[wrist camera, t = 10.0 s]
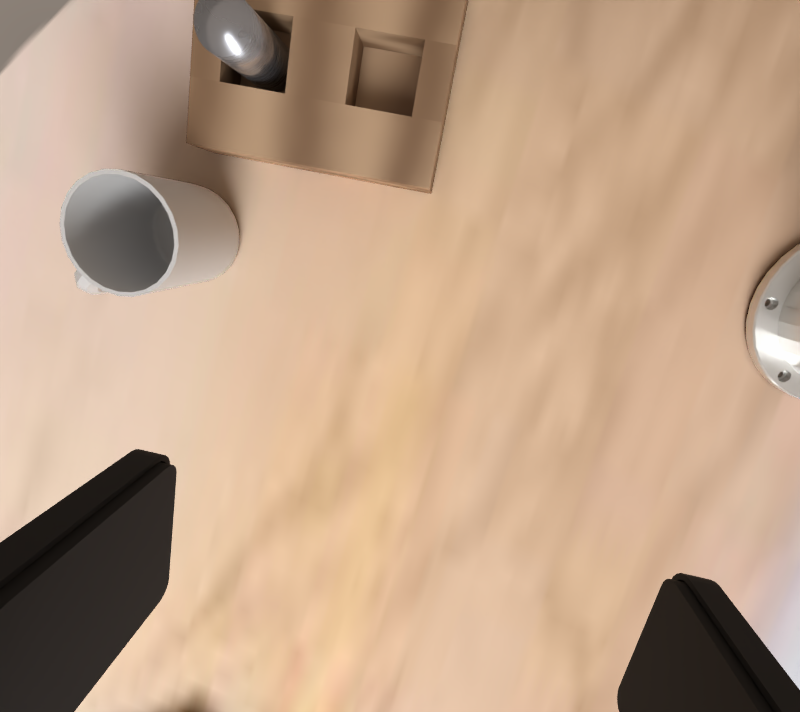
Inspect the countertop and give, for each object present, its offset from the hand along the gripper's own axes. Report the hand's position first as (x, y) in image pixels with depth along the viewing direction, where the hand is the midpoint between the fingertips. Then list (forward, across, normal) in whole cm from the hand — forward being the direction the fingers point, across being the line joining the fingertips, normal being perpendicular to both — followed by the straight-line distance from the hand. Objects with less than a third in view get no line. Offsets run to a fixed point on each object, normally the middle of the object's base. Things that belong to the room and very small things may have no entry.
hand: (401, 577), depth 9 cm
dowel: (+27, +14, -14) cm, 34 cm away
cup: (+28, +20, -2) cm, 35 cm away
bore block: (+28, +10, -15) cm, 33 cm away
